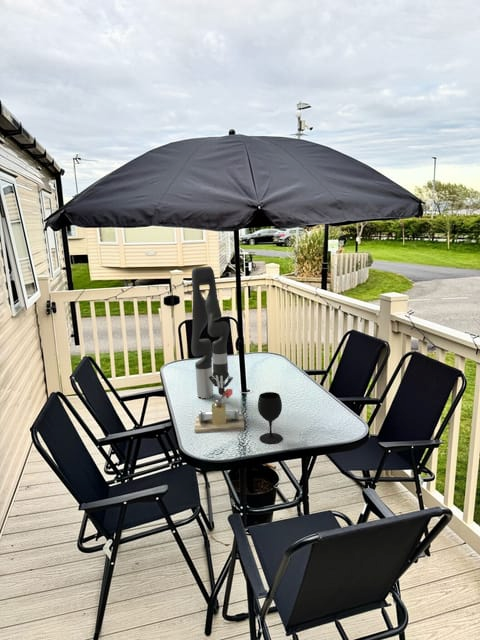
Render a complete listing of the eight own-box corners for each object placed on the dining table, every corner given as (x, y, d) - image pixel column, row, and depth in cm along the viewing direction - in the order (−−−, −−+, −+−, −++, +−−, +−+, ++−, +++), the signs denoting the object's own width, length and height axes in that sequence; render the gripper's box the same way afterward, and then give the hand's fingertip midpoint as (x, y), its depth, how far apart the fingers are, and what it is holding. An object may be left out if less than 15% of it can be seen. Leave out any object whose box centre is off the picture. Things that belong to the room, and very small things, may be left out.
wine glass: (255, 436, 191) (253, 393, 187) (276, 431, 194) (275, 389, 191) (265, 446, 181) (263, 401, 177) (287, 441, 185) (285, 397, 181)
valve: (200, 419, 208) (199, 404, 206) (239, 417, 208) (238, 402, 207) (199, 425, 201) (198, 409, 200) (239, 423, 202) (238, 407, 200)
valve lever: (220, 406, 201) (220, 401, 201) (214, 406, 202) (213, 400, 202) (232, 394, 217) (232, 389, 217) (227, 393, 218) (226, 388, 218)
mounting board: (196, 419, 212) (196, 416, 212) (243, 416, 212) (242, 414, 212) (194, 432, 197) (194, 429, 197) (244, 429, 198) (244, 426, 197)
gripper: (235, 360, 214) (236, 393, 217) (211, 358, 218) (212, 390, 222) (229, 364, 207) (230, 398, 210) (204, 362, 212) (206, 395, 215)
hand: (221, 394), depth 216 cm, fingers closed
